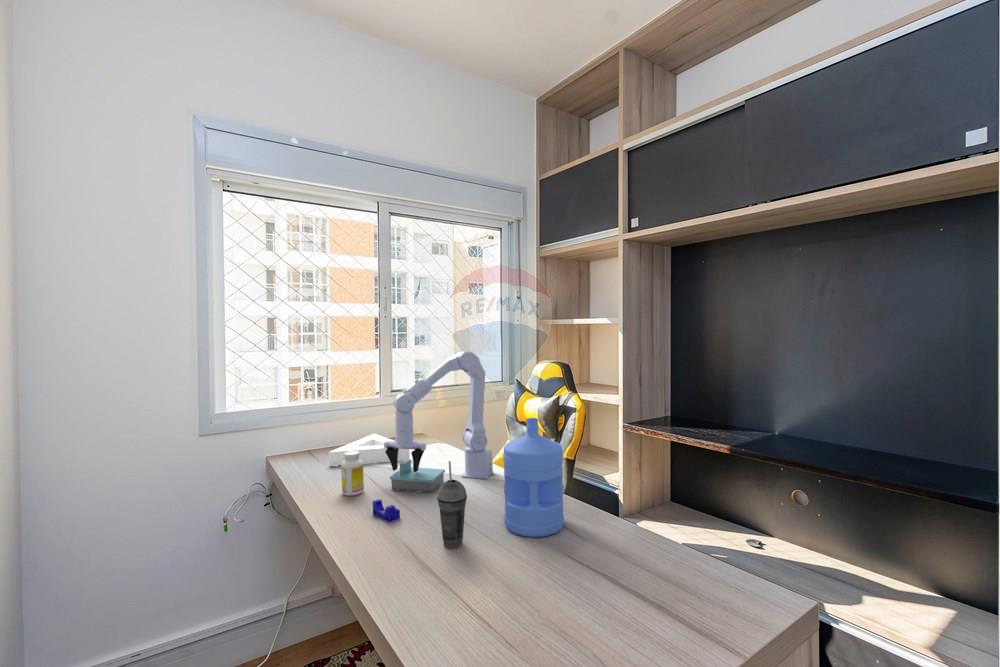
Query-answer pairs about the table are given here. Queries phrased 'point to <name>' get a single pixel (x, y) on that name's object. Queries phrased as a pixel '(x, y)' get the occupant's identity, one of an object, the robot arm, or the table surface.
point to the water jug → (533, 484)
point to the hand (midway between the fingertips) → (405, 470)
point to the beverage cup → (452, 511)
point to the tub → (417, 485)
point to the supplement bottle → (352, 474)
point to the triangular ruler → (367, 451)
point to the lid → (416, 473)
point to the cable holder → (385, 511)
